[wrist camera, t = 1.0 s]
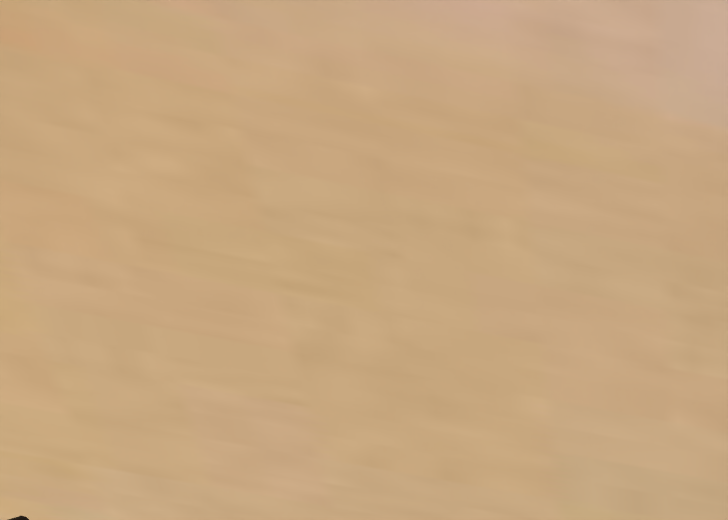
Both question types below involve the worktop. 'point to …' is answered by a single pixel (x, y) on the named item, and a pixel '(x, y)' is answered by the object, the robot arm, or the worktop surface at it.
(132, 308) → the worktop surface
